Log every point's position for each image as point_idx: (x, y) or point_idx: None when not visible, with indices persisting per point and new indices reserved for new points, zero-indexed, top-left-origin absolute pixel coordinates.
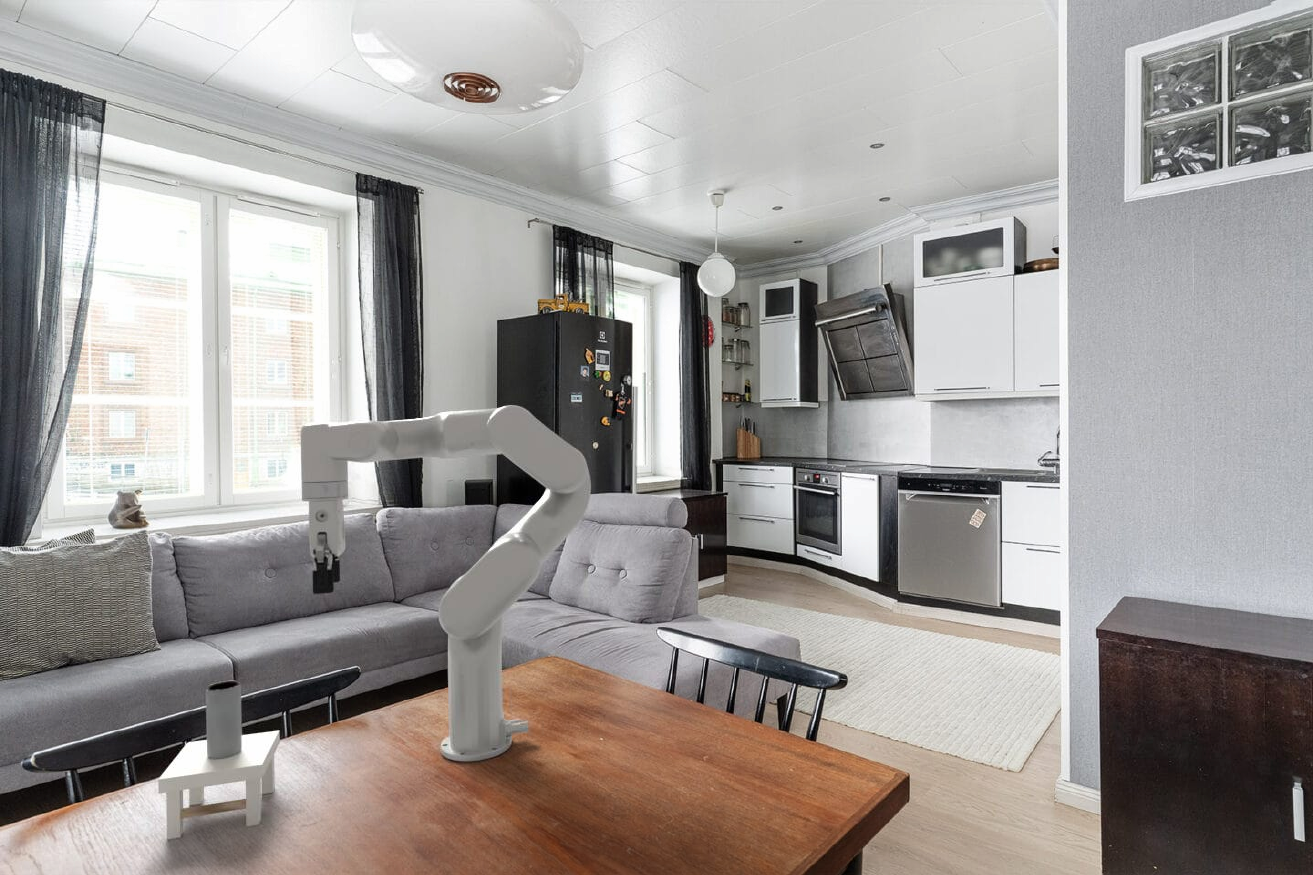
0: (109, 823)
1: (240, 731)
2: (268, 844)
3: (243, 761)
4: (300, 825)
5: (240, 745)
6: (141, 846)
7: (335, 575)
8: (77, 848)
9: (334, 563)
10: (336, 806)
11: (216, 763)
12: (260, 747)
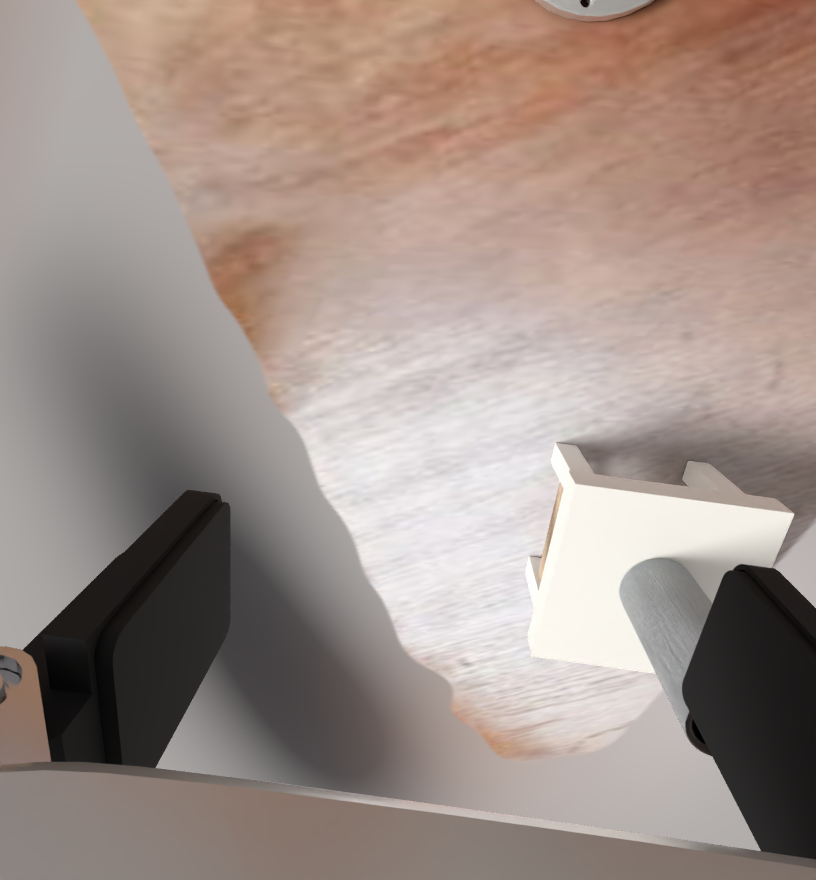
0: (541, 669)
1: (691, 588)
2: (805, 444)
3: (743, 550)
4: (769, 391)
5: (678, 567)
6: None
7: (201, 559)
8: (608, 692)
9: (133, 668)
10: (731, 322)
11: (713, 598)
12: (673, 520)
